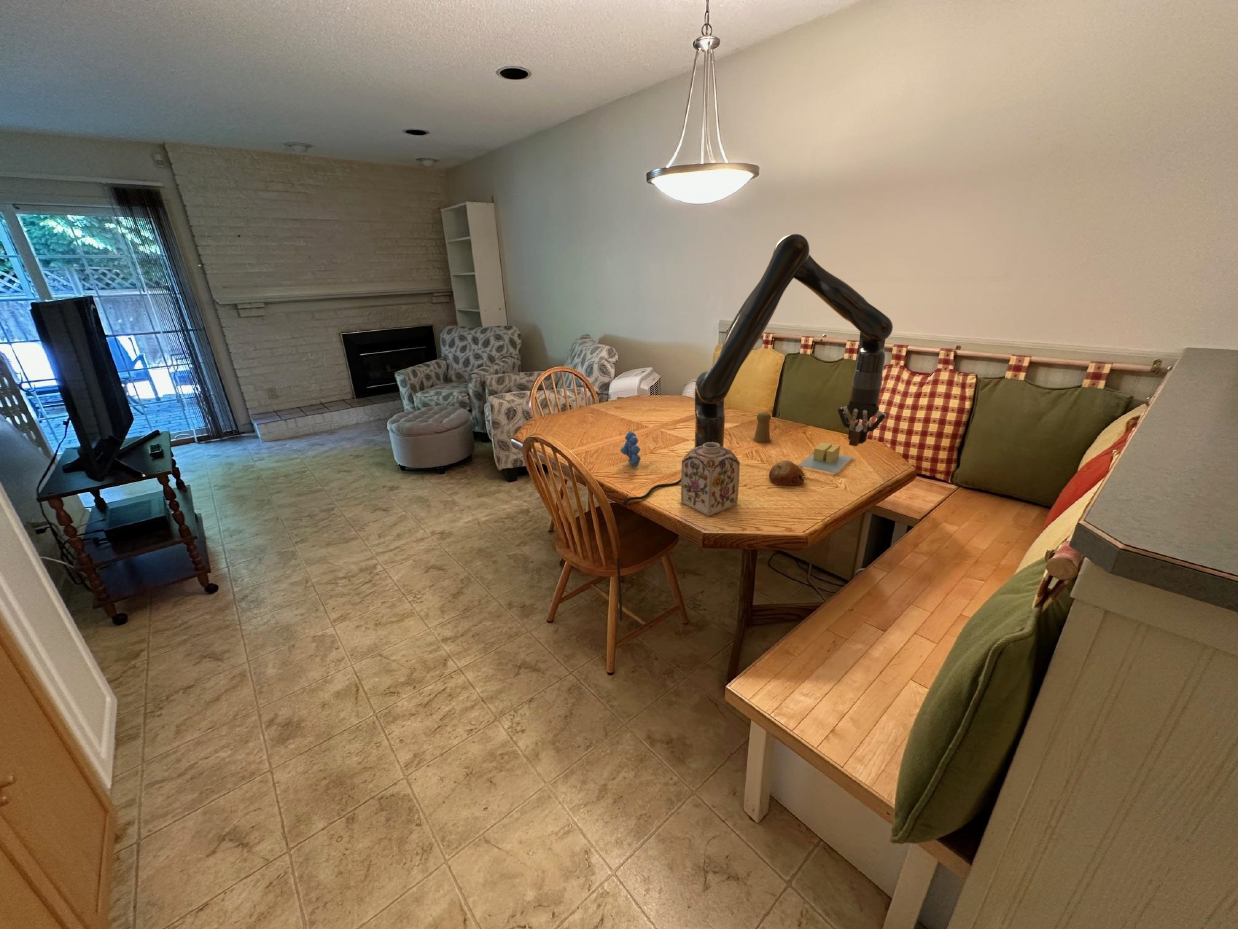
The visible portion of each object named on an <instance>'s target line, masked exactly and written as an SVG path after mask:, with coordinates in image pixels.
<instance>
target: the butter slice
mask: <svg viewBox="0 0 1238 929" xmlns="http://www.w3.org/2000/svg"><path fill="white" fill-rule="evenodd" d="M840 452H841V445H840V444H833V445H832V446H831V448H830V449H829V450H828V451H827V455H826V462H828V463H832V462H833V461H834V460H835V459H836V458H837V457H838V456H839V455H840Z"/></svg>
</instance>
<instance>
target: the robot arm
mask: <svg viewBox="0 0 1238 929" xmlns="http://www.w3.org/2000/svg"><path fill="white" fill-rule="evenodd" d="M810 250H811V249H810V244H809V241H808V240H807V238H806V237H805V236H804V235H802V234H799V233H790V234H788V235H786V236H783V237H782V238H781V239H780V240H779V241H778V242H777V243H776V245H775V247H774V250H773V252H772V256H771V258H770V260H769V262H768V265H767V267H766V269H765V271H764V273H763V275H762V276H761V278H760V280H759V281H758V283H757V285H755V287H754V288H753V289H752V290H751V293H749V295H748V297H746V299H745V300H744V302H743V304H742V305H741V307H740V308H739V310H738V311H737V313H736V314H735V317H734V318H733V320H732V322H731V324H730V326H729V328H728V330H727V333H726V334H725V338H724V341H723V343H722V347H721V350H720V353H719V355H718V357H717V359H715V362H714V363H713V364H712V367H710V369H709V370H706V371H703V372H702V373H700V374H699V375H698V376H697V378H696V380H695V385H694V386H695V387H694V418H695V419H694V421H695V422H694V447H693V448H695V447H699V446H703V444H704V443H708V442H715V443H718V444H720V447H723V448H725V447H724V446H725V445H724V444H725V426H726V425H725V424H726V413H725V399H726V398H727V395H728V394H729V391H730V389H731V387H732V385H733V383H734V381H735V379H736V377H737V375H738V372H739V371H740V369H741V367H742V366H743V364H744V363H745V361H746V360H747V358H748V357H749V355H750V353H751V352H752V350H753V349H754V347H755V346H756V345H757V343H758V342H759V340H760V338H761V336H762V335H763V333H764V332H765V330H766V328H767V327H768V325H769V323H770V321H771V319H772V317H773V315H774V314H775V311H776V309H777V308H778V305H779V303H780V301H781V299H782V297H783V294H784V292H786V290H787V288H788V286H789V285H790V284H791V283H792V280H793V279H794V280H796V281H798V282H799V283H801V284H802V285H804V286H805V287H806V288H807V289H808V290H810V291H811V292H812V293H814V294H815V295H816V297H818V298H819V299H820V300H822V301H823V302H824V303H825V304H826V305H827V306H828V307H829V308H831V309H832V310H833V311H834V312H835V313H837V315H839V316H840V317H841V318H842V319H844V320H845V321H847V322H849V323H850V324H852V326H854V327H855V328H856V329H857V331H859V342H858V343H859V344H858V355H857V361H856V365H855V370H854V375H853V377H852V384H851V390H850V395H849V396H850V397H849V402H848V404H847V405H846V406H841V407H839V408H838V409H837V412H838V415H839V417H840V420H841V423H842V426H843V427H844V428H848V436H847V438H848V440H849V441H850V435H851V431H852V430H853V429H854V428H855V427H857V426H858V421H860V420H861V421H862V422H861V423H862V424H861V425H863V430H862V432H861V438H860V444H861V445H863V444H864V443H865V442H867V439H868V434H869V433H870V432H874V431H875V430H876V429H877V428H878V426H880V425H881V423H882V422H883V421H884V420H885V419H886V418H887V416H888V413H886V412H882V410H881V411H880V408H879V400H880V394H881V389H882V385H883V374H884V373H883V372H884V367H885V360H886V352H885V345H886V340H887V339H888V338H889V337H890V336H891V334H892V333H893V330H894V325H893V322H892V320H891V318H890V317H888V315H886V314H884V313H883V311H881V310H879V309H878V308H876V307H875V306H874V305H872V304H871V303H869V301H867V300H866V298H865V297H864V296H863V295H862V294H860V293H859V292H858V291H857V290H855V289H854V287H852V286H851V285H849V283H847V282H845V281H844V280H842V279H840V278H839V277H837V276H836V275H834V274H833V273H831V272H829V271H828V270H826V269H825V268H823V266H821V265H820V264H819V263H818V262H817V261H816V260H815V259H814V258H813V257H812V255H811V254H810ZM848 412H849V414H850V416H851V419H850V418H849V417H848ZM875 415H876V416H875ZM874 416H875V418H876V420H875V421H874V423H873V424H872V425H870V426H869V423H870V419H872V418H873V417H874ZM868 432H869V433H868ZM860 444H859V445H860ZM679 484H681V478H679V479H678V480H677V481H674V482H671V483H661V484H656V485H654V486H652V487H651V488H650V489H649V490H648V491H647V492H646V493H645V494H643V495H641V496H630V497H627V498H626V499H624V500H623V501H622V503H621V506H625V505H626V504H627V502H630V501H635V500H637V501H639V500H640V501H641V500H644V499H646V498H648V496H649V497H650V495H651V493H653V491H654V490H656V489H659V488H665V487H673V486H676V485H679ZM616 569H617V588H618V606H619V608H618V609H619V621H620V622H622V621H623V596H622V580H621V578H622V577H621V557H620V556H619V557H616Z"/></svg>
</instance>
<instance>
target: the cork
mask: <svg viewBox="0 0 1238 929" xmlns="http://www.w3.org/2000/svg"><path fill="white" fill-rule="evenodd" d="M771 419H772V415H771V413H769V412H766V411H761V412H759V413H757V415H756V420H757V424H756V428H755V433H754V438H753V441H754V442H757V443H763V444H764V443H765V444H766V443H769V442H770V441H771V433H770V432H771V431H770V421H771Z"/></svg>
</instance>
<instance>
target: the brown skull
mask: <svg viewBox="0 0 1238 929" xmlns="http://www.w3.org/2000/svg"><path fill="white" fill-rule="evenodd" d="M805 476H806V474H805V473H804V470H802V469H801V467H800V466H799V465H797V464H795V463H794V462H793V461H790V460H782V461H781V460H780V461H778V462H776V463H775V464H774V465H772V467H771V468H770V470H769V472H768V479H769V480H770V482H772V483H773V484H775V485H778V486H785V487H796V486H798V485H800V484H802V482H805V478H804V477H805Z"/></svg>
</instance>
